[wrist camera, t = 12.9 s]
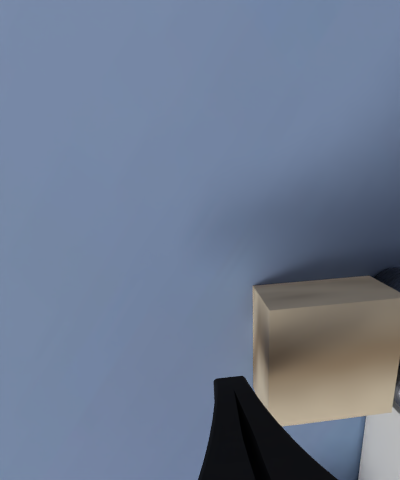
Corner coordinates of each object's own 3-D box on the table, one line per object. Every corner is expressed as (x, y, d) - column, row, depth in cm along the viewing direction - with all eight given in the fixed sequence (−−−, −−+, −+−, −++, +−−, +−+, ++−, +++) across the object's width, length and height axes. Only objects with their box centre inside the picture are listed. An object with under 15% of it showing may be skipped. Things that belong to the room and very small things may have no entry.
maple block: (356, 373, 18) (391, 412, 15) (252, 385, 18) (268, 428, 15) (367, 274, 16) (408, 297, 13) (252, 284, 16) (269, 310, 13)
